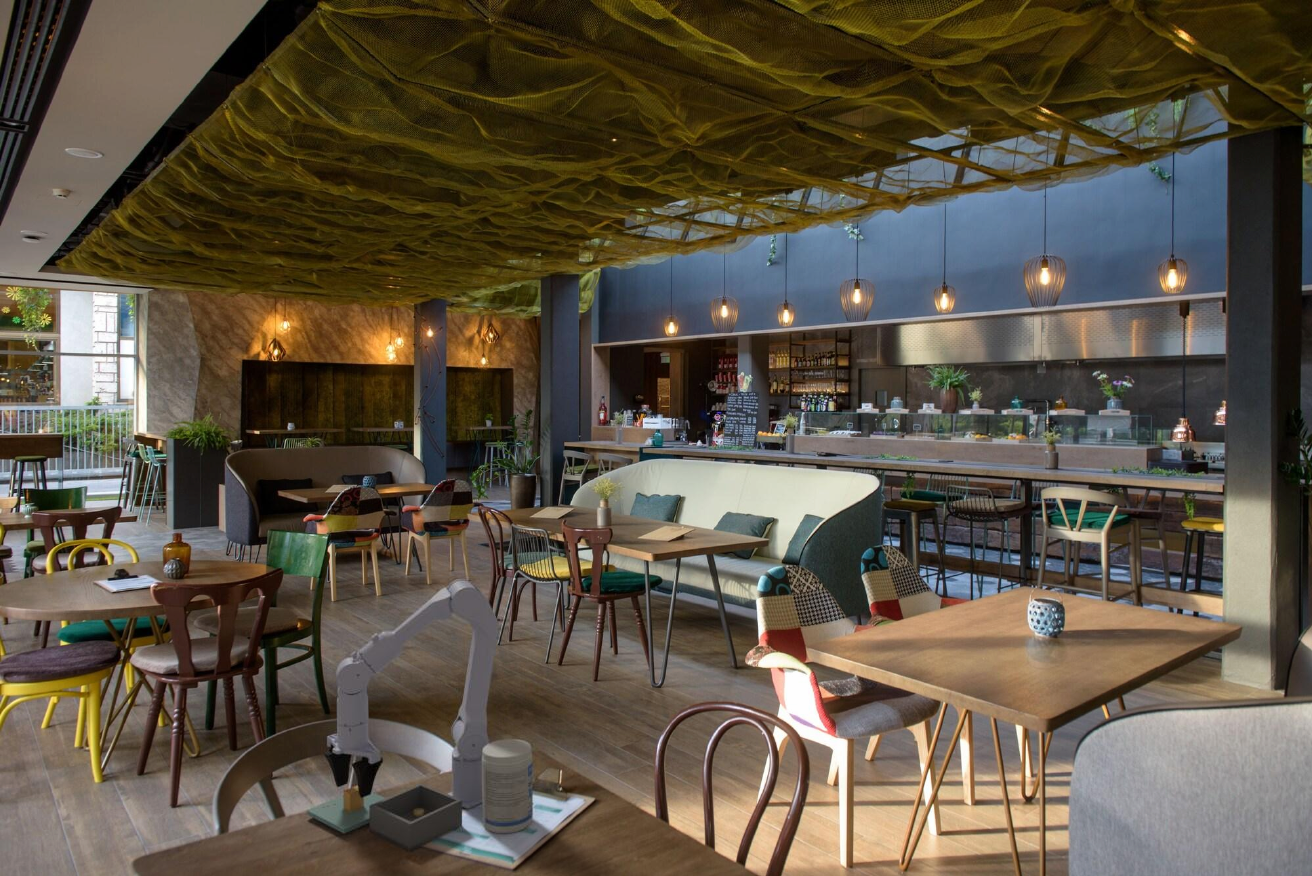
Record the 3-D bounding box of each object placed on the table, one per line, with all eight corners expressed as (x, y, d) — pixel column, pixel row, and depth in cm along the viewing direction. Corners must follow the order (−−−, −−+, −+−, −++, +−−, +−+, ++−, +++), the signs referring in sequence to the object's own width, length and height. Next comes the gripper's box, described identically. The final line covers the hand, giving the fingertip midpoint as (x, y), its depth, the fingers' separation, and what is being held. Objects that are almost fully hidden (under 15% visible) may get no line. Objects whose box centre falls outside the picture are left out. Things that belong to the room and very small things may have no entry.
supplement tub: (541, 827, 164) (541, 750, 163) (494, 840, 159) (494, 762, 158) (519, 807, 172) (519, 734, 171) (474, 819, 167) (474, 744, 166)
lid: (362, 795, 177) (362, 770, 176) (400, 812, 169) (400, 787, 169) (306, 818, 167) (306, 792, 166) (344, 837, 159) (343, 810, 159)
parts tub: (421, 808, 171) (421, 783, 171) (462, 826, 164) (462, 800, 164) (369, 831, 161) (369, 805, 161) (410, 851, 154) (410, 824, 154)
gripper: (312, 719, 168) (313, 787, 169) (357, 736, 160) (358, 808, 160) (344, 708, 174) (345, 775, 174) (389, 724, 165) (390, 794, 166)
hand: (353, 790), depth 168 cm, fingers open, 7 cm apart
